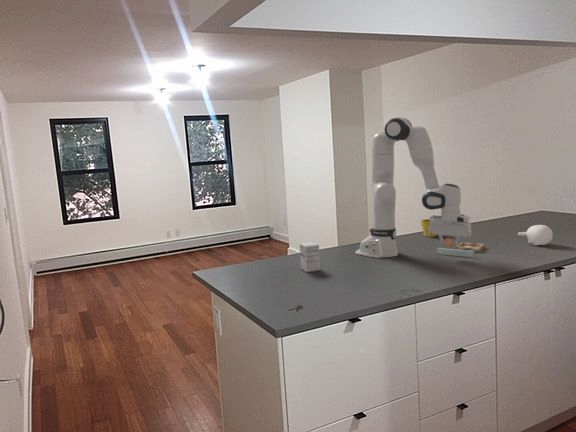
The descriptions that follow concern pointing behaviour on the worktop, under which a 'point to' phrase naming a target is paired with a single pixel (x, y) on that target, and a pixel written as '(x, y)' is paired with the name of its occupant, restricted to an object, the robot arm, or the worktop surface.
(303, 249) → the supplement box
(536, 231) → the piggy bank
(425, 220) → the plant pot
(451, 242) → the coral ball
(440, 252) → the aqua wall
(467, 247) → the birch tray
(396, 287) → the worktop surface
